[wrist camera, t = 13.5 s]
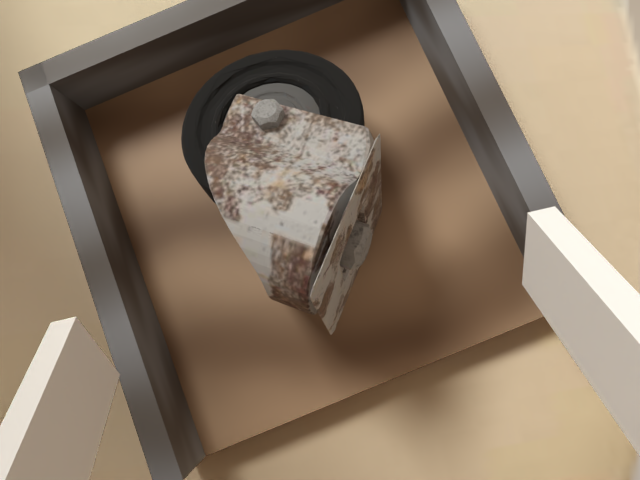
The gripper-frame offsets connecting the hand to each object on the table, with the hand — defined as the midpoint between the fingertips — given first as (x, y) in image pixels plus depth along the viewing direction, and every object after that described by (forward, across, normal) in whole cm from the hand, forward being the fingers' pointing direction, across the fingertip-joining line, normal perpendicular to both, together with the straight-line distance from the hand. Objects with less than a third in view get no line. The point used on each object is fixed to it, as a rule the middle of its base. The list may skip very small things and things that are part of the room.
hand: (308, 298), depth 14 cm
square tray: (+11, 0, -3) cm, 12 cm away
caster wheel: (+11, -1, -2) cm, 11 cm away
